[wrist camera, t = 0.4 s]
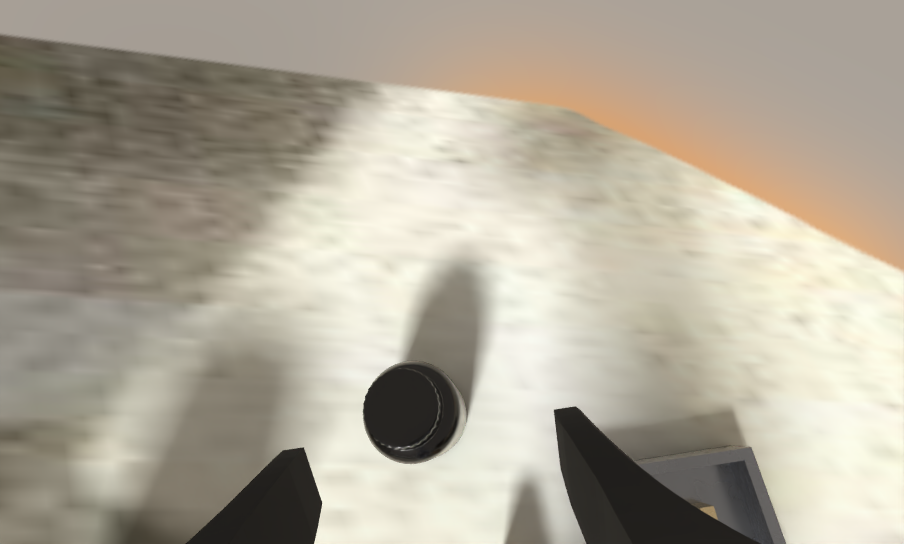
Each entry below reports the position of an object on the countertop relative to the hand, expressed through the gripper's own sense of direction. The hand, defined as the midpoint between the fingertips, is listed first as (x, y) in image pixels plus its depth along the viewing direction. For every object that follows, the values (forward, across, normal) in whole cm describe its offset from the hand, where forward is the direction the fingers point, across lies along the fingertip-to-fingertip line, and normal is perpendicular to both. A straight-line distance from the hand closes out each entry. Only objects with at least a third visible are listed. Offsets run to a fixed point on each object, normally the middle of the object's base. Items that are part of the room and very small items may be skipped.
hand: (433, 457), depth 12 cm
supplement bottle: (+22, +4, +14) cm, 27 cm away
